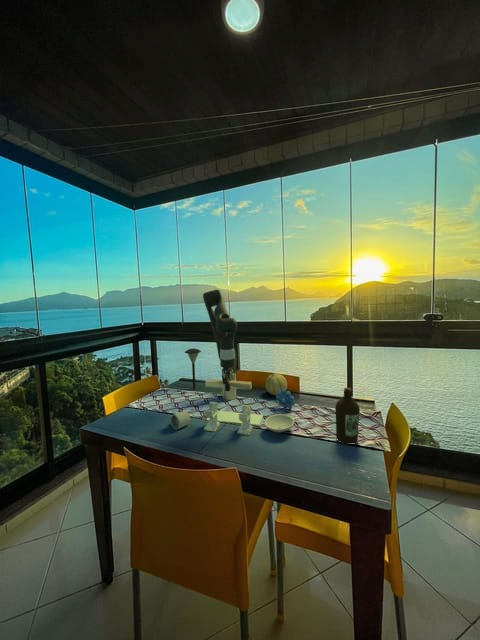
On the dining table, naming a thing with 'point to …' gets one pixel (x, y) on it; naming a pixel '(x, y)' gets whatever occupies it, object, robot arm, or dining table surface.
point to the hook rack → (214, 423)
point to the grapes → (285, 399)
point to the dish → (279, 422)
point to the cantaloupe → (275, 383)
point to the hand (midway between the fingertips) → (228, 389)
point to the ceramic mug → (180, 420)
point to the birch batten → (232, 384)
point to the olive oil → (347, 418)
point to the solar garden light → (193, 361)
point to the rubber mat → (237, 418)
